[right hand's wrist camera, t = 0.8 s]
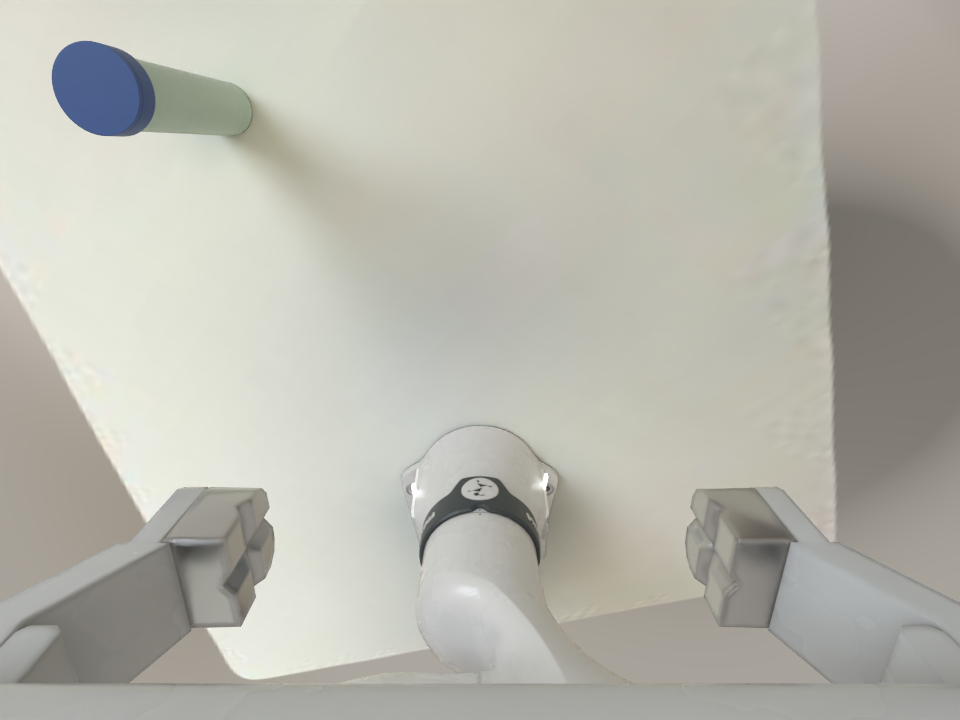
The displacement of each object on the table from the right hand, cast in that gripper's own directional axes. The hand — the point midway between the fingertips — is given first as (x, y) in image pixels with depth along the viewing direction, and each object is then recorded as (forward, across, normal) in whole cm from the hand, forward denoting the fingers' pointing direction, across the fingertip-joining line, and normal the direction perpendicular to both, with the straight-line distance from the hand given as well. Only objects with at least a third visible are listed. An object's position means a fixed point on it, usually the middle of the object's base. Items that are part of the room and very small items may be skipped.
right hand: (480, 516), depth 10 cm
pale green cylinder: (+48, -24, +10) cm, 54 cm away
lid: (+29, -24, +10) cm, 39 cm away
